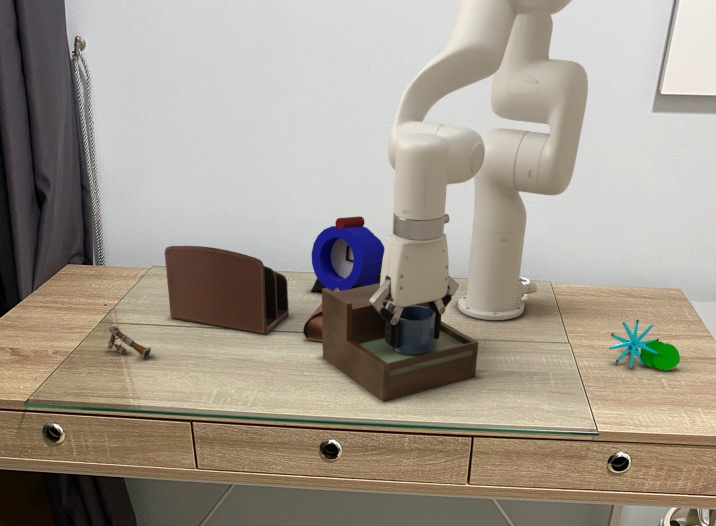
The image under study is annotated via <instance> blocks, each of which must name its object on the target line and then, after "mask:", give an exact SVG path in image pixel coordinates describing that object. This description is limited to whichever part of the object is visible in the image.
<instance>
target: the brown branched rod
mask: <svg viewBox="0 0 716 526" xmlns="http://www.w3.org/2000/svg"><path fill="white" fill-rule="evenodd" d="M108 331H109V333H111V335H110V339H109V341H108V345H107V348H108V349H109V350H111V349H113V347H114V348H115V351H116V352H119V353H120V354H121V355H122V354H124V355H126V354H127V353H128V351H127V349H126V348H127V347H124V346H122V344H121V343H120V344H118V343H117V344H116V343H115V341H117V340H119V339H120V340H121V342H122V343H123V344H125V345H127V346H128V347H129V348H132V349H134V350H135V352H137V353H138V354H139V355H140V356H141V358H140V359H141V360H142V361H144V360H145V359H147V358H148V357H149V356H150V354H151V350H152V347H150V346H148V347H145V346H143V345H142V344H141V345H140V344H139V343H136V342H135V340H134V339H132V338H131V337H130V336H128V335H127V334H124V333H123V332H121V330H120V329H119V327H118V326H115V325H113V326H112V325H109V326H108Z"/></svg>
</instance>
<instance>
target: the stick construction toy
mask: <svg viewBox="0 0 716 526" xmlns="http://www.w3.org/2000/svg"><path fill="white" fill-rule="evenodd" d="M639 322H640V320H639V319H636V320H635V323H634V328H633V332H632V330H631V329H630V327H629V326H628V325H627V323H626V322H625V321H622V323H621V325H623V327H624V329H625V332H626V334H627V336H628V338H629V339H627V338H624V337H622V336H619V335H616V334H615V333H614V332H612V333H611V334H610V337H611V338H614V339H615V340H618V341H619V342H621V343H620V344H615V345H612V346H609V348H608V349H609V351H610V350H613V349H621V348H626V349H625V350H624V351H623V353H621V355H619V356H618V358H617V359H616V360H615V364H618V363H619V362H620V361H621V360H622V359H623V358H624V357H625V356H626V355H628V354H629V353H630V361H629V362H630V363H629V369H632V368H633V366H634V361H635V357H637V359H638V361H639V362H640V363H641V365H642V367H646V366H647V367H649V368H652V369H657V370H659V371H669V370H672V369H674V368H675V367H677V366H678V365H679V364H680V362H681V356H680V355H681V354H680V352H679V349H677V347H675V345H674V344H672V343H667V342H665V343H664V342H663V341H660V339H659V338H656V339H649V340H642V339H644V337H645V336H646V335H647V334H648V333H649V332H650V331H651V330H652V328H653V327H654V324H650V326H648V327H647V328H646V329H645V330H644V331H643V332H642V333H641V334H640V335H639V336H638V330H639V329H638V328H639ZM641 340H642V341H641ZM639 349H640V350H639Z"/></svg>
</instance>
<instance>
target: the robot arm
mask: <svg viewBox="0 0 716 526" xmlns="http://www.w3.org/2000/svg"><path fill="white" fill-rule="evenodd" d="M572 1H573V0H460V1H459V4H458V7H457V10H456V13H455V17H454V20H453V24H452V26H451V30H450V33H449V37H448V39H447V40H448V41H447V44H446V45H445V48H443V50H442V51H441V52H439V53H438V54H437V55H436V56H434V57H433V58H432V59H431V60H430V61H429V62H427V63H426V64H425V65H424V66H423V67H422V68H421V70H420V71H418V73H417V74H416V75H415V76H414V77H413V78H412V79H411V81H410V82H409V84H408V85H407V86H406V88H405V89H404V91H403V93H402V95H401V97H400V99H399V102H398V105H397V108H396V111H395V115H394V119H393V121H392V126H391V130H390V133H389V138H388V144H387V157H388V161H389V165H390V166H391V167H392V169H393V170H394V187H393V188H394V189H393V212H392V216H393V217H392V234H390V235H388V236H387V239H386V242H385V245H384V248H385V250H384V255H383V261H382V269H381V279H380V288H379V289H378V290H377V291H376V293H375V294H374V295H373V296H372V297H371V298H370V300H369V303H370V305H371V306H372V307H373V308H374V309H375V310H376V312H377V313H378V314H379V315H380V316H381V317H382V318H383V319H384V320H385V340H386V343H387V344H389V345H390V346H392V347H393V348H395V349H397V348H399V347H400V336H401V325H400V324H399V323H398V320H399V318H400V316H401V313H402V311H403V309H404V307H407V306H412V305H417V304H421V303H426V302H428V305H429V307H430V309H432V310H434V311H435V313H436V324H435V339H439V336H440V328H441V321H442V315H443V314H445V313H446V307H447V306H448V305H449V303H450V302H451V301H452V297H454V295H455V294H456V292H457V291H458V289H459V287H460V284H459V283H458V282H457V281H456V280H455V279H453V277H452V276H451V275H450V274H449V268H450V267H449V264H450V262H449V246H448V240H447V234H446V233H445V232H444V229H445V225H446V224H448V223H449V222H450V215H449V213H446V202H447V187H448V185H454V184H463V183H466V182H469V181H470V180H471V179H473V182H474V183H473V184H474V201H473V202H474V204H473V219H472V231H471V242H470V253H469V263H468V277H467V288H466V294H464V295H462V296H461V297H459V299H458V300H457V308H458V310H459V311H460V312H461V313H462V314H464V315H465V316H468V317H471V318H474V319H479V320H485V321H506V320H512V319H514V318H517V317H519V316H522V314H523V313H524V311H525V303H524V302H523V301H522V298H523V297H525V295H531V294H534V293H536V292H537V291H538V286H537V284H536V282H530V283H525V284H523V282H522V281H521V280H520V276H521V267H522V260H523V252H524V244H525V243H524V242H525V236H526V227H527V210H526V207H525V203H524V201H523V199H522V197H521V195H520V193H519V192H522V193H529V194H536V195H544V196H558V195H561V194H563V193H564V192H565V191H566V190H567V189H568V187H569V185H570V184H571V181H572V178H573V175H574V170H575V165H576V161H577V156H578V150H579V144H580V140H581V135H582V128H583V125H584V118H585V113H586V108H587V101H588V94H589V93H588V92H589V80H588V74H587V71H586V69H585V67H584V66H583V65H582V64H580V63H578V62H577V61H574V60H566V59H554V58H550V49H551V48H550V47H551V41H552V36H553V35H552V34H553V28H554V23H553V18H552V15H556V14H557V13H559V12H561V11H562V10H564V9H565V8H566V7H567V6H568V5H569V4H570V3H571V2H572ZM492 76H493V77H492ZM489 77H492V82H491V83H492V84H491V91H490V92H491V94H490V102H491V103H490V105H491V110H492V111H493V113H494V114H495V115H496V116H497V117H499V118H501V119H505V120H508V121H516V122H524V123H533V124H541V125H548V126H549V133H546V132H538V131H530V130H523V129H516V128H515V129H514V128H493V129H490V130H487V131H485V132H484V133H482V134H481V135H480V133H478V132H477V131H476V130H474V129H472V128H469V127H466V126H458V125H450V124H443V123H435V122H427V121H424V120H425V118H426V116H427V114H428V113H429V111H430V110H431V109H432V107H433V106H435V104H436V103H437V102H439V101H440V100H442V98H444V97H446V96H448V95H449V94H451V93H453V92H455V91H458V90H460V89H463V88H465V87H468V86H470V85H473V84H476V83H478V82H480V81H483V80H485V79H487V78H489ZM384 300H388V303H387V305H386V307H384V305H383V301H384ZM521 301H522V302H521ZM518 302H519V303H518ZM394 307H395V309H394ZM393 309H394V311H393ZM392 311H393V314H392Z"/></svg>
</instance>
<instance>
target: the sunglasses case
mask: <svg viewBox="0 0 716 526" xmlns="http://www.w3.org/2000/svg"><path fill="white" fill-rule="evenodd" d="M339 291H340V290H339V289H338V288H335V289H334V291H333V292H339ZM302 328H303V329H302V331H303V332H302V333H303V335H304V337H305V338H306V340H308V341H313V342H316V343H317V342H318V343H323V334H322V302H321V303H320V305H319V306H318V307H317V308H316V309H315V310H314V311H313V313H312V314H311V315H310V317H309V318H308V319H307V320H306V322H305V324H304V326H303V327H302Z"/></svg>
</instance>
